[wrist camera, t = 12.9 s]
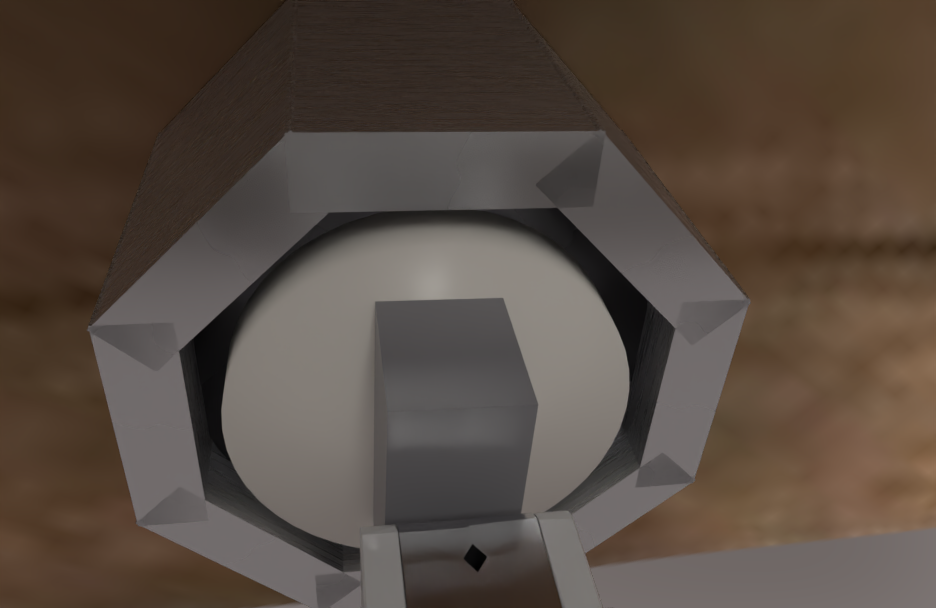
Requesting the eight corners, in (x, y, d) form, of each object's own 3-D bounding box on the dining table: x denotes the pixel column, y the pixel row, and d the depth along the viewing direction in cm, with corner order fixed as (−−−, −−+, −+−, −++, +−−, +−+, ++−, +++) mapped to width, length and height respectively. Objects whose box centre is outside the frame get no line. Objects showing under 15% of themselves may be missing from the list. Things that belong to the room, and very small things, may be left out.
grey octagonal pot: (133, -15, 16) (36, 130, 10) (647, -4, 18) (805, 128, 12) (200, 394, 22) (161, 628, 16) (580, 373, 24) (664, 579, 18)
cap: (206, 207, 13) (174, 359, 10) (641, 203, 14) (733, 337, 11) (244, 515, 17) (229, 690, 14) (580, 492, 18) (633, 648, 15)
